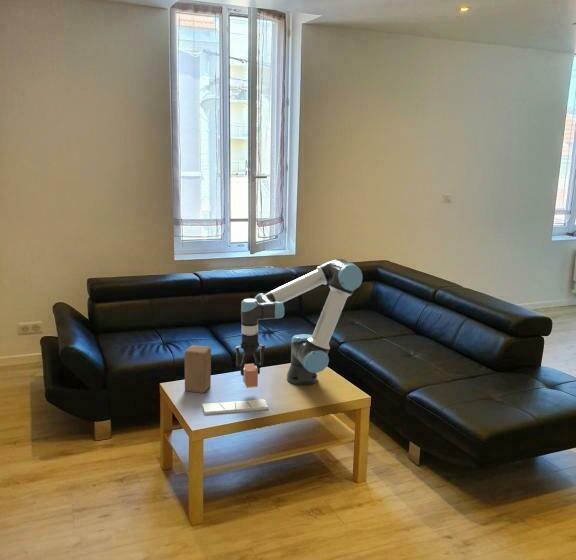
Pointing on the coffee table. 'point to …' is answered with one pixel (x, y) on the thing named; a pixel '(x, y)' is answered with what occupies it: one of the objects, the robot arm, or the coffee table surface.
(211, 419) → the coffee table surface
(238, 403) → the board
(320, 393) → the coffee table surface
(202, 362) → the wooden block
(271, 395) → the coffee table surface
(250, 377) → the block
